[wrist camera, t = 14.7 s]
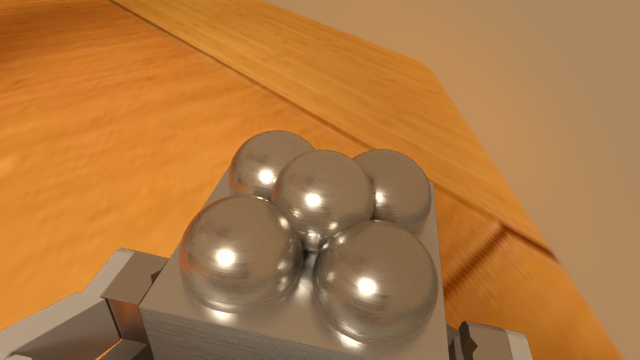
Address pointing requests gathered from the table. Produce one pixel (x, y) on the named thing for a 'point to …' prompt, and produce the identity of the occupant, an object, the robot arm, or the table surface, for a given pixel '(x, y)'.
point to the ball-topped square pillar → (305, 261)
